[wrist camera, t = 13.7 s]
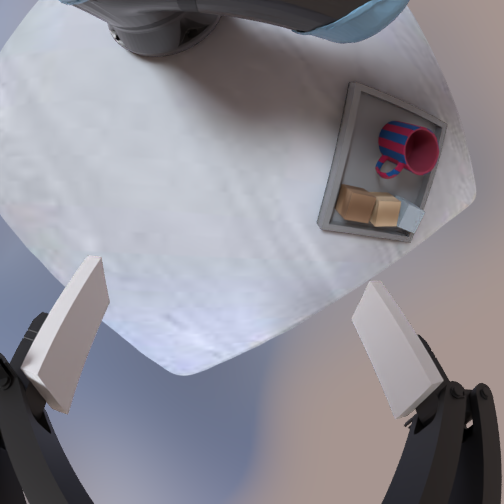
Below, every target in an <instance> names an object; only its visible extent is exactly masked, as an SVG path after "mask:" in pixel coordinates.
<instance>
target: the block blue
mask: <svg viewBox="0 0 504 504" xmlns="http://www.w3.org/2000/svg"><path fill="white" fill-rule="evenodd" d="M395 198H397V199H398V200H400V201H401V206H400V212H399V216H398V221H397V226H398V227H399V228H402V229H405V230H407V231H409V232H412V233H415V232H416V230H417V228H418V226H419V224H420V222H421V220H422V218H423V215H424V213H425V212H424V211H423V210H422V209H420V208H419V207H417V206H416V205H415V204H413V203H412V202H410V201H408V200H406V199H404V198H401V197H399V196H397V195H396V196H395Z"/></svg>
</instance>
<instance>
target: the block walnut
mask: <svg viewBox="0 0 504 504" xmlns="http://www.w3.org/2000/svg"><path fill="white" fill-rule="evenodd" d="M375 201H376V197H375V196H373V195H372V194H371V193H369V192H368V191H367V190H365V189H364V188H359V187H355V186H350V185H346V184H341V188H340V191H339V195H338V198H337V202H336V206H335V209H336V210H337V212H338V213H339V214H340V215H341V216H342V217H343V218H344V219H345V220H351V221H357V222H363V223H368V222H369V219H370V216H371V213H372V210H373V207H374V204H375Z"/></svg>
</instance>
